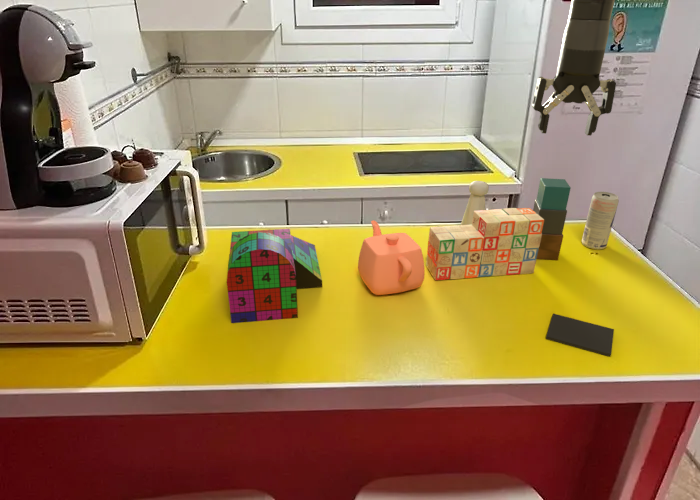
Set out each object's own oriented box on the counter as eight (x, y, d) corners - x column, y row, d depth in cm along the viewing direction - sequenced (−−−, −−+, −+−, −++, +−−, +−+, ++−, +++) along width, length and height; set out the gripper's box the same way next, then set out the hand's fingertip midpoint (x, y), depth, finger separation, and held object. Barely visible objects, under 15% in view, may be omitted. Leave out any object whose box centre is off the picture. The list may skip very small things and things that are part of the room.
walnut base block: (552, 247, 117) (557, 223, 114) (558, 260, 112) (563, 235, 109) (524, 246, 118) (529, 222, 115) (529, 258, 113) (534, 233, 110)
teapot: (378, 310, 94) (380, 260, 90) (346, 264, 110) (346, 219, 105) (435, 299, 98) (440, 250, 93) (396, 256, 113) (398, 212, 108)
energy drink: (606, 242, 120) (619, 193, 114) (606, 252, 116) (619, 202, 110) (581, 237, 122) (593, 189, 116) (580, 247, 117) (592, 197, 112)
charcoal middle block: (556, 224, 114) (561, 200, 112) (562, 234, 109) (567, 210, 107) (530, 222, 115) (534, 199, 112) (535, 233, 110) (539, 209, 107)
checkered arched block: (328, 315, 93) (327, 244, 86) (231, 323, 91) (223, 251, 84) (314, 250, 115) (313, 190, 108) (236, 255, 112) (230, 194, 106)
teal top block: (560, 201, 111) (565, 179, 109) (565, 210, 107) (570, 187, 105) (536, 199, 112) (540, 177, 110) (540, 209, 108) (545, 186, 105)
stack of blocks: (434, 281, 104) (440, 225, 98) (425, 266, 109) (430, 212, 103) (534, 273, 107) (545, 218, 101) (520, 258, 112) (530, 206, 107)
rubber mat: (613, 331, 89) (614, 329, 89) (610, 357, 83) (611, 354, 83) (552, 316, 93) (553, 313, 93) (545, 339, 87) (546, 336, 87)
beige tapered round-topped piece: (465, 240, 120) (472, 188, 114) (456, 230, 125) (462, 179, 119) (489, 238, 121) (497, 186, 115) (478, 228, 126) (485, 177, 120)
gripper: (547, 47, 92) (531, 137, 100) (631, 49, 91) (609, 140, 98) (539, 42, 99) (525, 127, 106) (617, 44, 97) (597, 130, 105)
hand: (565, 133), depth 102 cm, fingers open, 8 cm apart
